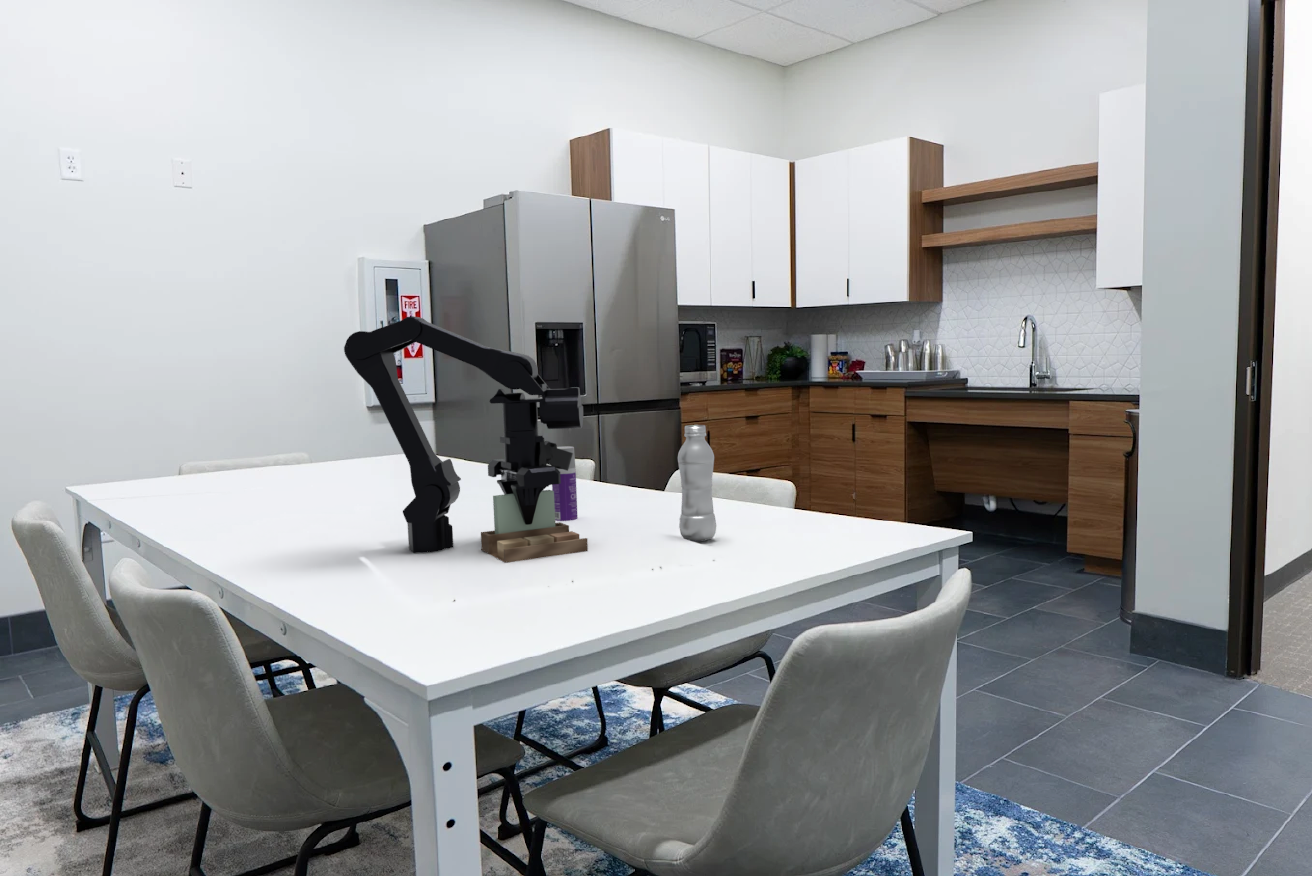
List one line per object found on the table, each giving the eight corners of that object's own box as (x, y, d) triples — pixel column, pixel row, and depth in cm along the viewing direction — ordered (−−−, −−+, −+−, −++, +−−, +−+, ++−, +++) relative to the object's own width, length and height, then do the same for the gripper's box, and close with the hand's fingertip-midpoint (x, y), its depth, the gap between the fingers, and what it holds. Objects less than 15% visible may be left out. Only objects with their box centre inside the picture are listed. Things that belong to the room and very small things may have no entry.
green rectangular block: (499, 551, 150) (497, 497, 149) (495, 549, 151) (492, 495, 151) (556, 543, 154) (553, 491, 154) (551, 541, 156) (549, 489, 155)
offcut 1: (504, 559, 143) (503, 544, 143) (497, 556, 146) (497, 541, 146) (528, 556, 145) (527, 540, 145) (521, 553, 148) (520, 537, 148)
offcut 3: (557, 552, 148) (556, 537, 147) (550, 549, 150) (549, 534, 150) (579, 549, 150) (579, 534, 149) (572, 546, 152) (571, 531, 152)
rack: (505, 568, 141) (504, 543, 141) (480, 555, 152) (479, 531, 151) (588, 556, 148) (587, 532, 148) (559, 544, 159) (558, 521, 158)
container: (576, 525, 176) (573, 448, 175) (552, 526, 176) (549, 449, 175) (578, 521, 181) (576, 446, 180) (555, 521, 181) (552, 446, 180)
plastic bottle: (717, 536, 161) (714, 423, 159) (716, 544, 154) (713, 427, 153) (681, 537, 162) (677, 424, 160) (678, 545, 155) (674, 427, 153)
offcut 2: (531, 555, 145) (530, 540, 145) (524, 552, 148) (523, 537, 148) (554, 552, 147) (553, 537, 147) (547, 549, 150) (546, 534, 150)
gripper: (588, 429, 147) (592, 525, 148) (545, 424, 163) (548, 510, 165) (523, 434, 142) (527, 533, 143) (484, 428, 158) (489, 517, 159)
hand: (524, 522), depth 153 cm, fingers open, 3 cm apart
